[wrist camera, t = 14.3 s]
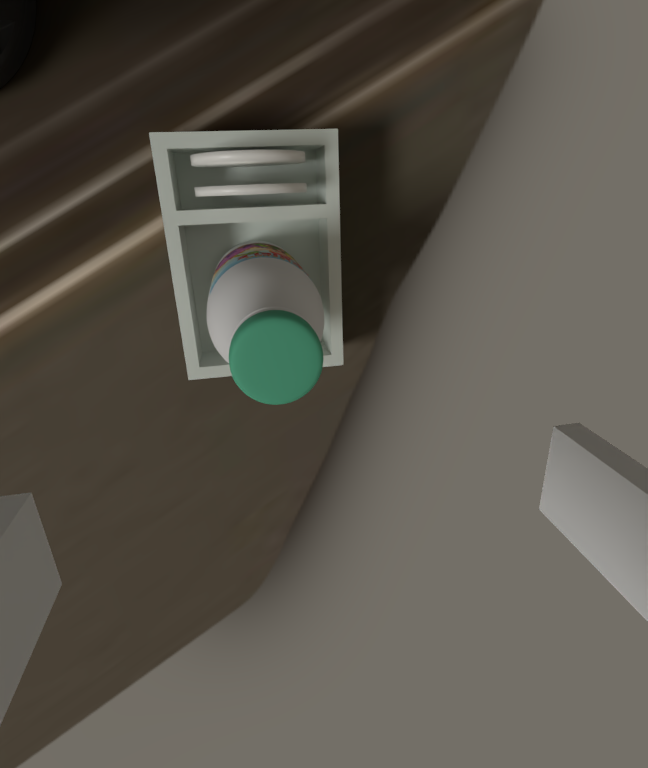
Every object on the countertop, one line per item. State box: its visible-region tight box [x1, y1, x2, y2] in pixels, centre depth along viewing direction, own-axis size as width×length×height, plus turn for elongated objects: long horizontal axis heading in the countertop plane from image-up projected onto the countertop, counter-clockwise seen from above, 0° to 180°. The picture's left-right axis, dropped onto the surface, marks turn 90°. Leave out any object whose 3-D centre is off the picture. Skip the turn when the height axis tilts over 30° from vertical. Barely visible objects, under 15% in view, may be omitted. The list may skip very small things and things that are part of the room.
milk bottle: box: [207, 241, 325, 405], centre depth 31 cm, size 8×8×20 cm
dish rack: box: [149, 129, 343, 380], centre depth 36 cm, size 13×18×9 cm
